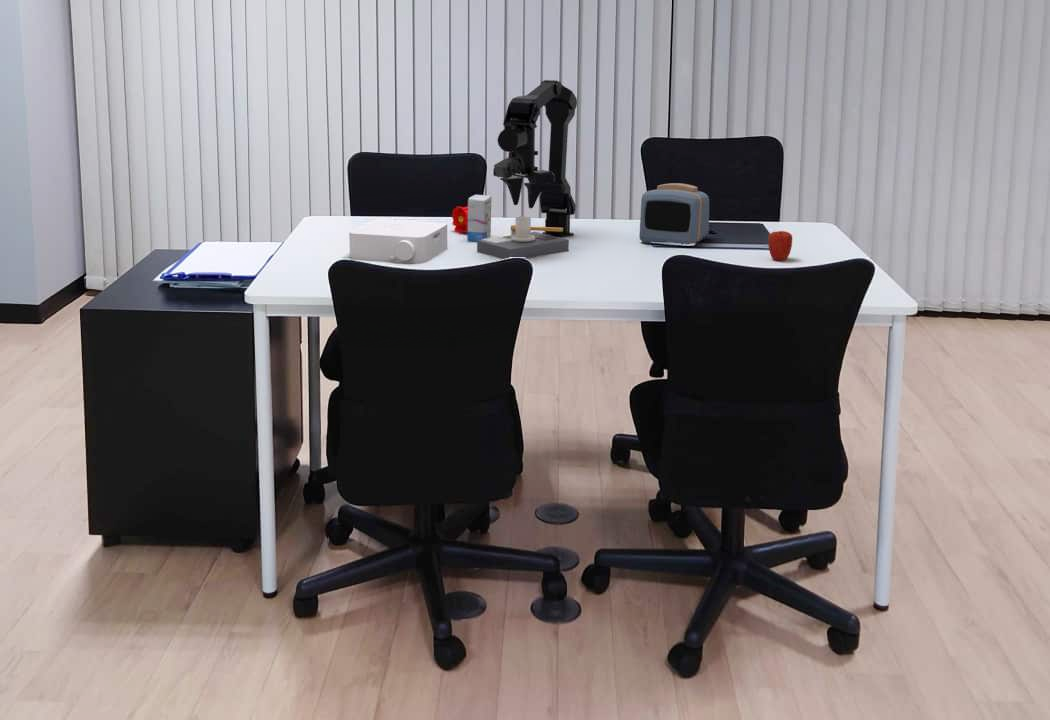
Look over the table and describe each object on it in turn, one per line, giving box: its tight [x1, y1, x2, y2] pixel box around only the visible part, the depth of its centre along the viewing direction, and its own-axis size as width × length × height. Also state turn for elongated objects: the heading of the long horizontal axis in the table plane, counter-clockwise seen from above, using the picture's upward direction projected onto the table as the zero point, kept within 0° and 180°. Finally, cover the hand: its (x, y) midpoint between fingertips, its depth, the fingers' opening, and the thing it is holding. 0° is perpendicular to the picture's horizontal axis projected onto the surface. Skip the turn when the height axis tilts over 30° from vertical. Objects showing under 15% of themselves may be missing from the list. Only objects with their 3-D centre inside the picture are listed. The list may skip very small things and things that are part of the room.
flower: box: [451, 205, 468, 234], centre depth 387 cm, size 8×8×8 cm
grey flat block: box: [476, 229, 570, 260], centre depth 362 cm, size 20×15×4 cm
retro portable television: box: [639, 182, 710, 245], centre depth 375 cm, size 16×16×16 cm
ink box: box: [467, 194, 492, 243], centre depth 376 cm, size 9×5×12 cm, turn 168°
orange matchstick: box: [510, 224, 563, 232], centre depth 367 cm, size 14×2×1 cm, turn 80°
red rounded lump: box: [767, 230, 793, 262], centre depth 354 cm, size 6×6×8 cm
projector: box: [348, 218, 448, 264], centre depth 358 cm, size 21×22×7 cm
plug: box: [511, 216, 535, 243], centre depth 361 cm, size 6×6×9 cm
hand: (523, 206), depth 359 cm, fingers open, 6 cm apart
